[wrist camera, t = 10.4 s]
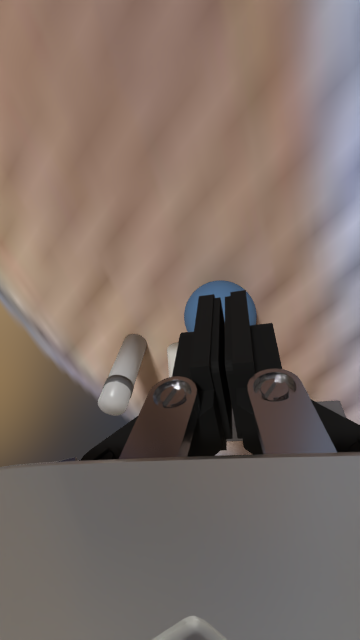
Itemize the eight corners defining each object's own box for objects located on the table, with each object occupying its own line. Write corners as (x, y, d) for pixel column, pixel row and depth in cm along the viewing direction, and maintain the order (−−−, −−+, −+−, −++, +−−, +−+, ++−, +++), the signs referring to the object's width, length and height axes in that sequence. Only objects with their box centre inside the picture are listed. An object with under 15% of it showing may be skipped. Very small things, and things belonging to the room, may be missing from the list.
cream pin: (197, 347, 33) (198, 409, 38) (177, 339, 35) (180, 399, 39) (181, 360, 32) (184, 423, 36) (161, 350, 33) (166, 412, 38)
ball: (247, 373, 27) (271, 319, 31) (231, 324, 23) (260, 267, 27) (185, 358, 31) (212, 311, 34) (161, 313, 27) (194, 263, 30)
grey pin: (143, 332, 34) (122, 392, 27) (149, 351, 35) (130, 414, 28) (120, 334, 35) (93, 395, 28) (127, 354, 36) (102, 416, 29)
